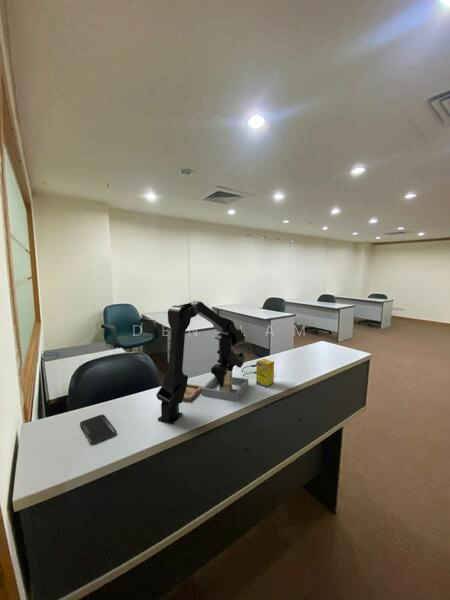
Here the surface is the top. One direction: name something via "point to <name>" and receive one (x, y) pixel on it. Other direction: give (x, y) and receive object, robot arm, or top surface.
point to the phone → (97, 429)
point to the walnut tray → (191, 392)
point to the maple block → (227, 382)
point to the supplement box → (265, 372)
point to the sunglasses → (249, 366)
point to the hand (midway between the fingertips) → (225, 382)
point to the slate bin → (224, 394)
